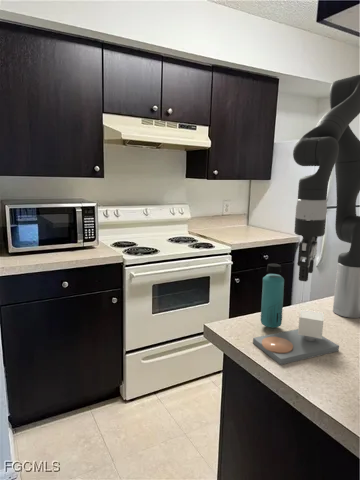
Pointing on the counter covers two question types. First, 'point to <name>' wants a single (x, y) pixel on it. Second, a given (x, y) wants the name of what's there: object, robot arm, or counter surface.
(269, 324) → the beverage bottle
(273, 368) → the counter surface
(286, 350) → the tan flat disc
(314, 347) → the post board
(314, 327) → the off-white matte cube
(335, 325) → the counter surface
